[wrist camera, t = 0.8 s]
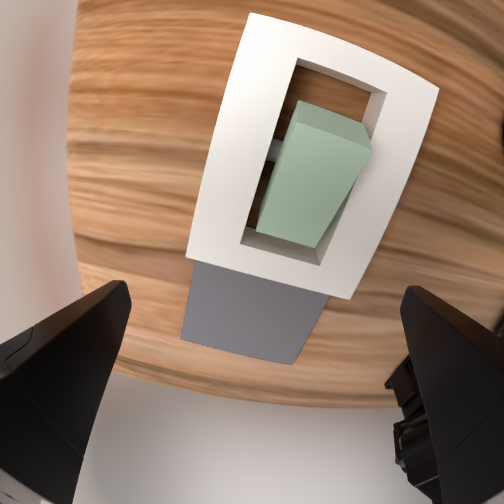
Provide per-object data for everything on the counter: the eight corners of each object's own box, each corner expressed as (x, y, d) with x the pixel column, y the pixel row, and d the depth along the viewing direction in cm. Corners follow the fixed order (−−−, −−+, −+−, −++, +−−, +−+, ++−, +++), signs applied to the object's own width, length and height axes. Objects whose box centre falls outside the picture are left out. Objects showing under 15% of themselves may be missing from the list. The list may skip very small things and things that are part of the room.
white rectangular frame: (418, 88, 16) (439, 88, 14) (341, 277, 24) (349, 299, 21) (252, 24, 15) (250, 12, 13) (195, 237, 23) (185, 256, 20)
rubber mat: (331, 286, 24) (332, 290, 24) (291, 360, 29) (291, 365, 28) (198, 250, 23) (197, 254, 23) (181, 334, 28) (180, 339, 27)
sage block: (363, 124, 15) (372, 150, 14) (315, 216, 22) (314, 248, 20) (298, 100, 15) (296, 121, 13) (261, 200, 21) (255, 231, 19)
